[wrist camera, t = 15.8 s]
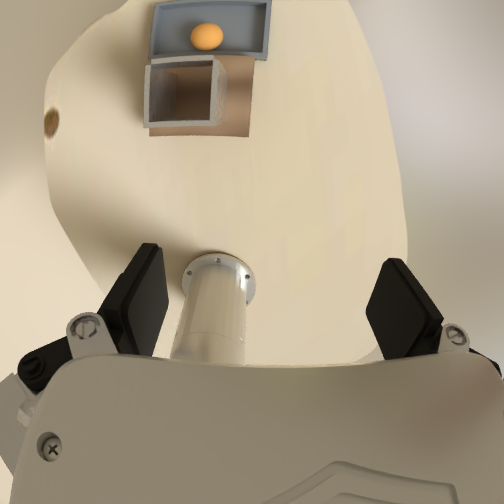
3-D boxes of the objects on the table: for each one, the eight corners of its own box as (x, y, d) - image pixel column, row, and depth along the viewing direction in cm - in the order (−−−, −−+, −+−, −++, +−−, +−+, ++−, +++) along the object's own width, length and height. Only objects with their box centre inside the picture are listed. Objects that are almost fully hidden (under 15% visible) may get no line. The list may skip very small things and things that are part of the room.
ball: (225, 31, 26) (222, 55, 27) (195, 31, 26) (191, 55, 27) (223, 17, 22) (220, 42, 23) (190, 18, 22) (185, 43, 23)
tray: (266, 60, 29) (267, 57, 27) (154, 62, 28) (148, 59, 26) (270, 5, 24) (271, -1, 22) (160, 8, 24) (155, 3, 21)
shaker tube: (225, 121, 28) (215, 126, 21) (171, 121, 28) (143, 128, 20) (228, 69, 25) (219, 54, 17) (173, 70, 25) (145, 60, 17)
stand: (248, 133, 34) (248, 137, 29) (161, 132, 33) (149, 136, 29) (254, 63, 29) (254, 56, 24) (164, 64, 28) (152, 59, 24)
